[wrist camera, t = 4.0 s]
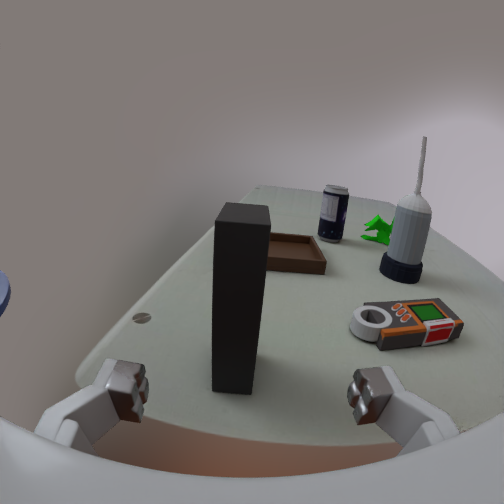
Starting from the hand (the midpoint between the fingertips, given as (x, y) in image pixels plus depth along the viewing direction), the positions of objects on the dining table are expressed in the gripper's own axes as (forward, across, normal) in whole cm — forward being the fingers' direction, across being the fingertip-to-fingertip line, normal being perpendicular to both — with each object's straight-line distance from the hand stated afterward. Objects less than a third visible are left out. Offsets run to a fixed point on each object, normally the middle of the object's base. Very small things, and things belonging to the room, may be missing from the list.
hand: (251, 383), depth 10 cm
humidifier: (+34, -29, +10) cm, 46 cm away
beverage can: (+52, -20, +10) cm, 57 cm away
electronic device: (+17, -20, +10) cm, 28 cm away
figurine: (+53, -35, +10) cm, 64 cm away
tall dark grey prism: (+11, 0, +10) cm, 15 cm away
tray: (+40, -6, +10) cm, 41 cm away
